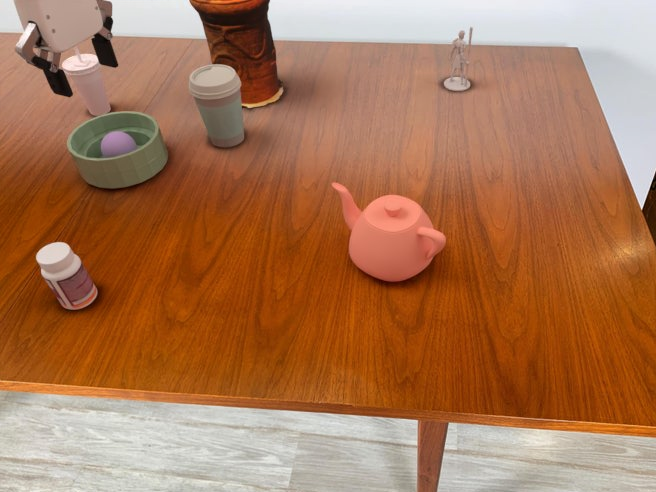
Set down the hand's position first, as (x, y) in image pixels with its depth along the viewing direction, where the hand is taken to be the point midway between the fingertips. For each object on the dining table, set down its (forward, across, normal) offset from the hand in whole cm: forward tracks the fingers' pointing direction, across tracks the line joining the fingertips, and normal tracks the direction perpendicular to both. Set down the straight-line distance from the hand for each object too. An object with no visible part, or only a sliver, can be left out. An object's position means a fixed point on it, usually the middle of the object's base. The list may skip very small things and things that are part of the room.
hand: (87, 79), depth 87 cm
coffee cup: (+15, -14, +12) cm, 24 cm away
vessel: (+15, -30, +7) cm, 34 cm away
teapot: (+15, +3, +50) cm, 52 cm away
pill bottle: (+16, +26, +14) cm, 34 cm away
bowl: (+16, -1, +1) cm, 16 cm away
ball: (+12, 0, +1) cm, 12 cm away
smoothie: (+16, -13, -15) cm, 26 cm away
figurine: (+14, -47, +45) cm, 66 cm away
